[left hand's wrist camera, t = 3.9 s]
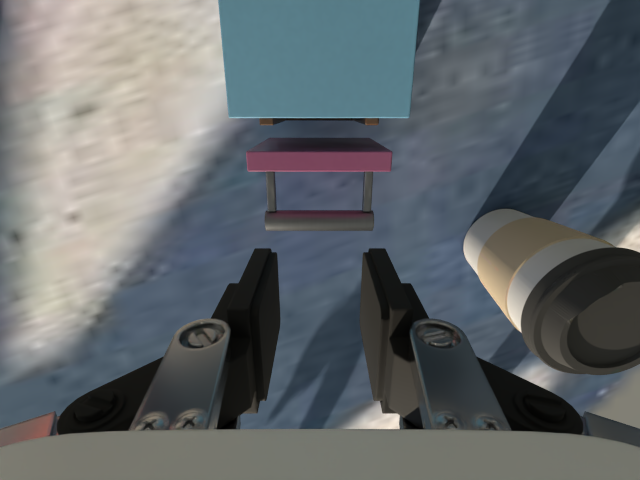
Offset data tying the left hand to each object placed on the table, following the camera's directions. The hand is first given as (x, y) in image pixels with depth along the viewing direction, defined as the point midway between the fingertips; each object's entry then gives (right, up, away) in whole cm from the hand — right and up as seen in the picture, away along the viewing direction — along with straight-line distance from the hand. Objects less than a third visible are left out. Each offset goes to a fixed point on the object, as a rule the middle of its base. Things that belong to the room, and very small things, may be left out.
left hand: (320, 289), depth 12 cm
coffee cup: (+18, +2, +22) cm, 28 cm away
